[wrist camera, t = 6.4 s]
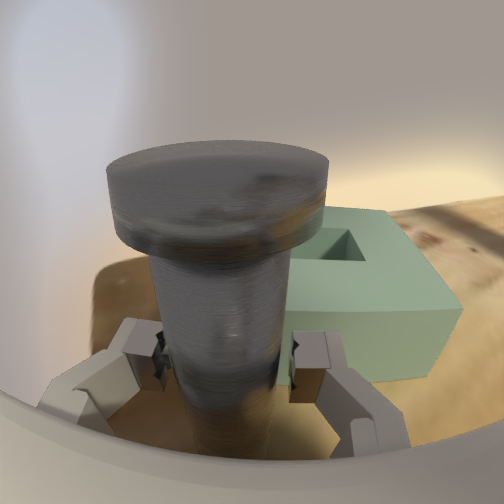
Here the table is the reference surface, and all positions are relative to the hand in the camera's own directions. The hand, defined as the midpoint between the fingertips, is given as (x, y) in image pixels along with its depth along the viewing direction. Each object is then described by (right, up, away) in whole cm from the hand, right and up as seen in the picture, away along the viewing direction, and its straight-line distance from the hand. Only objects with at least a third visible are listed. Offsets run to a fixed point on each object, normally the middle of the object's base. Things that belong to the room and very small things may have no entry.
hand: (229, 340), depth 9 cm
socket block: (+6, -2, +14) cm, 15 cm away
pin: (0, -7, +3) cm, 8 cm away
